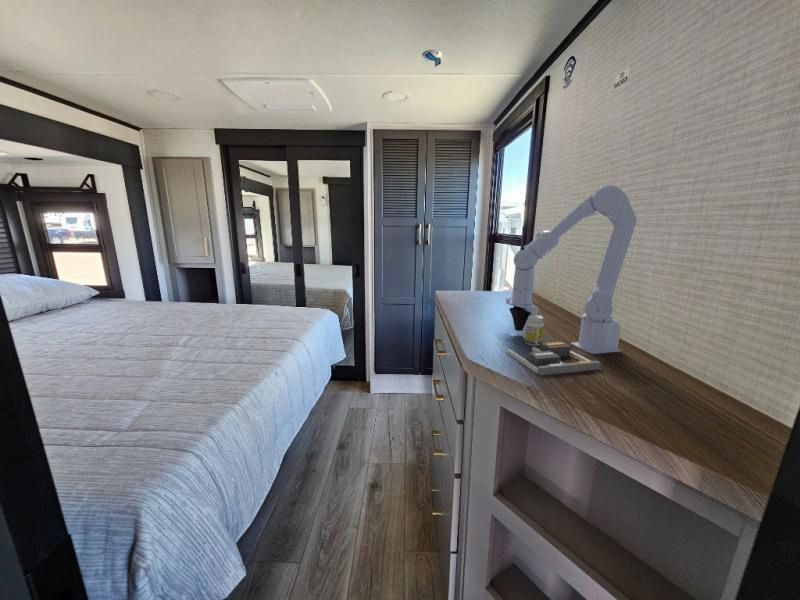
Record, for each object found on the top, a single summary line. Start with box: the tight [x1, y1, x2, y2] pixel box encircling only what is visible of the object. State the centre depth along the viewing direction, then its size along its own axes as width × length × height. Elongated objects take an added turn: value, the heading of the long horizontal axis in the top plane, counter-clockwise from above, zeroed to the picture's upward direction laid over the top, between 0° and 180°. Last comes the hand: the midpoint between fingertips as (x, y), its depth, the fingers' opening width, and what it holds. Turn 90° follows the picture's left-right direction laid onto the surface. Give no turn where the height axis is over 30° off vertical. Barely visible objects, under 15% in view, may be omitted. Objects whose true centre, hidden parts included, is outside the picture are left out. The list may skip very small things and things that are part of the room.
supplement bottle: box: [524, 314, 545, 347], centre depth 91 cm, size 5×5×8 cm
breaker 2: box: [538, 340, 572, 358], centre depth 83 cm, size 6×4×3 cm, turn 102°
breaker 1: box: [526, 351, 562, 367], centre depth 76 cm, size 6×4×3 cm, turn 102°
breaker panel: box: [506, 346, 601, 376], centre depth 79 cm, size 16×14×2 cm
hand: (518, 330), depth 99 cm, fingers closed
